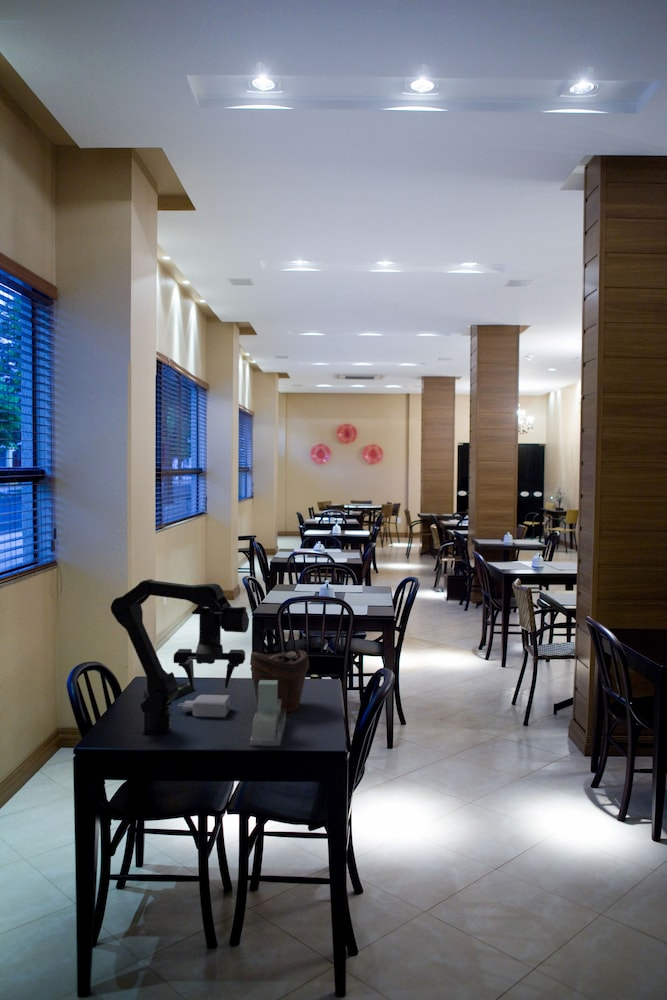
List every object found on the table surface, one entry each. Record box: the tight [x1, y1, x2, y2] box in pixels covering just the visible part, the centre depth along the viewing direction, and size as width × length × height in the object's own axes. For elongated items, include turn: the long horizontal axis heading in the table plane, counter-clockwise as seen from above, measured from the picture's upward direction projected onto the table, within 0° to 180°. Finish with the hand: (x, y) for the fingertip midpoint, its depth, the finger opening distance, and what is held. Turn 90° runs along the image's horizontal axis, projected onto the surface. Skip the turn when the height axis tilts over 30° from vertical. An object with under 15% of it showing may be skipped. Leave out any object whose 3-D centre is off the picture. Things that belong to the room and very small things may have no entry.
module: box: [257, 680, 278, 713], centre depth 209 cm, size 5×4×12 cm
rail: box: [249, 699, 287, 747], centre depth 209 cm, size 8×21×6 cm, turn 0°
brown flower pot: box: [249, 648, 310, 713], centre depth 234 cm, size 18×20×18 cm
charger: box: [177, 694, 231, 718], centre depth 226 cm, size 5×9×15 cm
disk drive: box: [143, 681, 195, 699], centre depth 247 cm, size 10×3×15 cm
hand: (209, 687), depth 206 cm, fingers open, 9 cm apart
